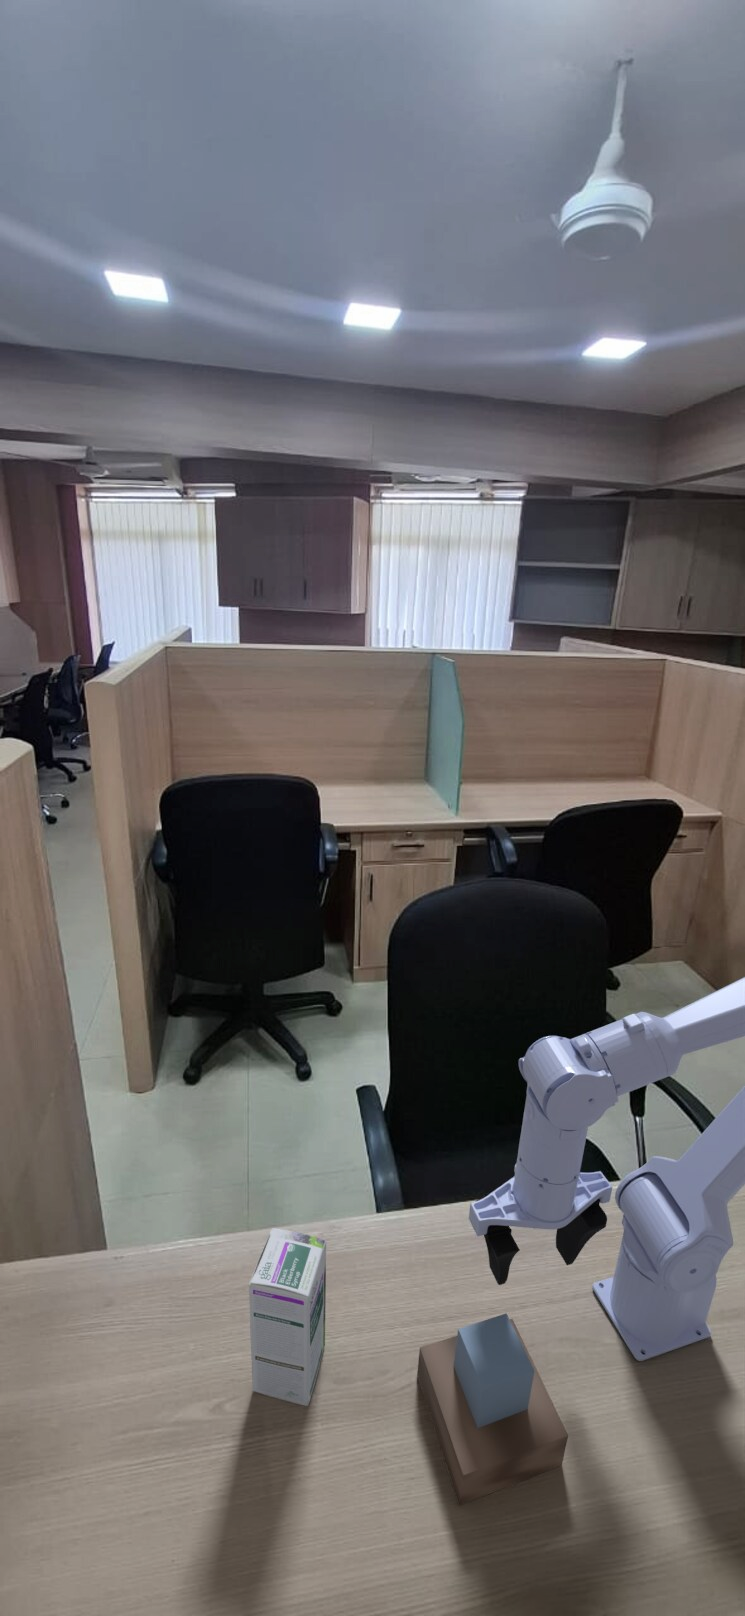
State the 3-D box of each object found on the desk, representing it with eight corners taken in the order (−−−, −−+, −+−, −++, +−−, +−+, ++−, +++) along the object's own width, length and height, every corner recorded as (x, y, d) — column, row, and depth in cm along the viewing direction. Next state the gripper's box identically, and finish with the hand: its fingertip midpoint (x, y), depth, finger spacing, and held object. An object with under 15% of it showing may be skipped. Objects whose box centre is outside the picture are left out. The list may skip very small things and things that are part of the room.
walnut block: (507, 1346, 67) (512, 1318, 66) (561, 1464, 58) (568, 1435, 57) (417, 1375, 64) (419, 1347, 63) (459, 1505, 55) (463, 1475, 54)
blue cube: (500, 1350, 63) (506, 1313, 61) (527, 1409, 58) (534, 1370, 57) (453, 1366, 61) (458, 1328, 60) (477, 1428, 57) (483, 1389, 55)
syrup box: (309, 1409, 61) (312, 1297, 56) (249, 1392, 62) (248, 1282, 57) (325, 1344, 66) (329, 1237, 62) (270, 1330, 67) (270, 1224, 63)
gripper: (589, 1113, 67) (570, 1213, 71) (461, 1141, 63) (449, 1245, 67) (634, 1169, 61) (611, 1275, 65) (494, 1203, 56) (479, 1315, 61)
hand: (531, 1264), depth 65 cm, fingers open, 7 cm apart
